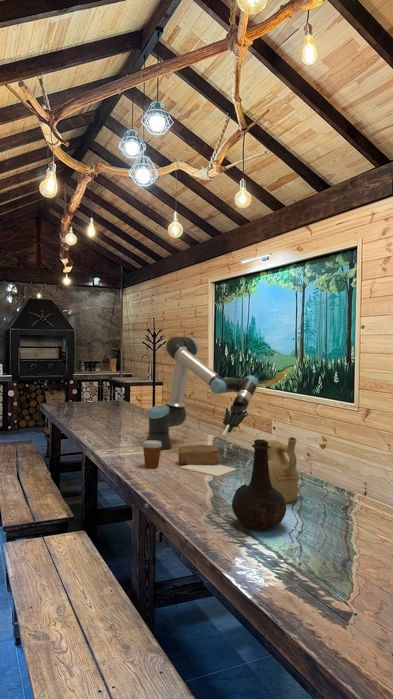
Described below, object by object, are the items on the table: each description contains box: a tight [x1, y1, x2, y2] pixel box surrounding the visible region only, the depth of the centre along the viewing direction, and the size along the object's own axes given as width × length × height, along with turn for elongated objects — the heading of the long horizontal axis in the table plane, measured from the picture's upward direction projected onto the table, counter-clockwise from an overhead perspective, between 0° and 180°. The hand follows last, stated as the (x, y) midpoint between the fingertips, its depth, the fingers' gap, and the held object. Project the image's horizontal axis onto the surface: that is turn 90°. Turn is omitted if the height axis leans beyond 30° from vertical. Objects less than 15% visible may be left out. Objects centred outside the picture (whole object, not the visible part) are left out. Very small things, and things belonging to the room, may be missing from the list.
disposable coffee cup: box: [142, 439, 162, 469], centre depth 217 cm, size 10×10×12 cm
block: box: [178, 444, 220, 465], centre depth 225 cm, size 11×8×20 cm
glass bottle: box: [231, 439, 287, 531], centre depth 148 cm, size 18×18×28 cm
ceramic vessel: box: [268, 436, 300, 504], centre depth 176 cm, size 17×20×25 cm
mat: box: [179, 463, 238, 478], centre depth 216 cm, size 22×16×1 cm
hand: (224, 436), depth 224 cm, fingers closed
